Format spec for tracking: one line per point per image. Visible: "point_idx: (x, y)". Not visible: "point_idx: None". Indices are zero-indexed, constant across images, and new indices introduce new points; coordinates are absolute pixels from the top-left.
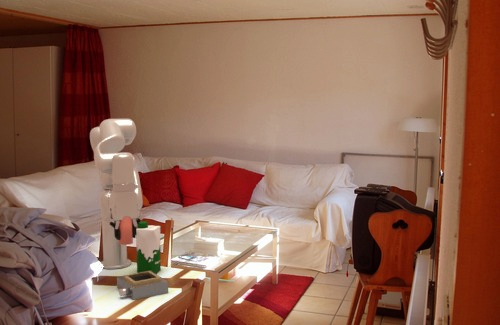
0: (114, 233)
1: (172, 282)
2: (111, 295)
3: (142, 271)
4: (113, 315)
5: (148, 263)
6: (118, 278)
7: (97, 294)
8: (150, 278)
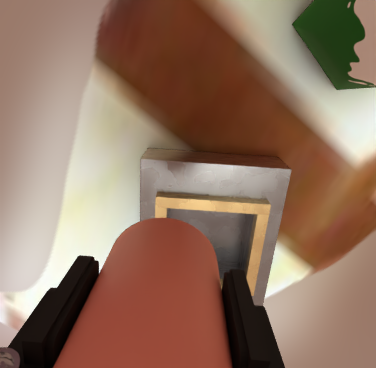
0: (34, 314)
1: (324, 214)
2: (105, 209)
3: (310, 47)
4: None
5: (344, 78)
6: (140, 177)
7: (67, 173)
8: (250, 222)
